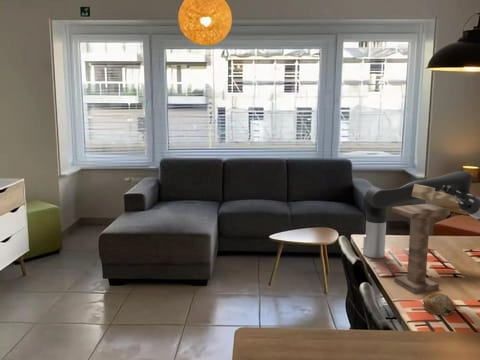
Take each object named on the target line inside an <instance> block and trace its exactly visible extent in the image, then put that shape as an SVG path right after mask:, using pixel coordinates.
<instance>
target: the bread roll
mask: <svg viewBox="0 0 480 360" xmlns="http://www.w3.org/2000/svg"><path fill="white" fill-rule="evenodd" d="M421 302H422V303H423V307H424V309H425V311H426V312H428V313H431V314H434V315H436V314H437V315H436V316H446V317H447V316H449V315H451V314H452V313H454V311H455V304H454V302H453V300H452V299H451V298H450V297H449V296H448V295H447V294H444V293H441V292H431V293H429V294H428V295H426V296H424V298H423V299H422V301H421Z"/></svg>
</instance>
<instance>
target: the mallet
mask: <svg viewBox="0 0 480 360" xmlns="http://www.w3.org/2000/svg"><path fill="white" fill-rule="evenodd" d="M412 196H413V197H416V198H419V199H422V200H424V201H433V198H434V199H438V200H439V199H440V200H445V201H451V202H455V203H457V202H459V201H458V200H456V197H454V196H453V195H451V194H447V193H445V192H440V191H439V192H436V191H435V188H432V187H428V186H423V185H418V184H414V187H413V191H412Z"/></svg>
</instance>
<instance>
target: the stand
mask: <svg viewBox="0 0 480 360" xmlns="http://www.w3.org/2000/svg"><path fill="white" fill-rule="evenodd" d="M391 213H393V214H394V213H395V214H396V215H400V216H402V217H406V218H408V219H409V220H410V223H409V224H410V226H409V243H408V258H407V261H408V262H407V271H406V272H407V273H406V274H407V275H400V276H394V281H393V282H394V283H396V284H397V285H400V287H402V288H404V289H406V290H408V291H409V292H411V293H413V294H415V293H421V292H427V291H435V290H438V289H439V287H440V284H439V283H438V282H437V281H434V280H432V279H430V278H428V277H427V267H428V266H427V265H428V251H429V237H430V235H429V234H430V224H431V223H430V222H431V218H433V217H435V218H437V217H444V216H450V215H451V209H448V208H444V207H441V206H439V205H438V206H437V205H435V204H432V203H421V204H411V205H410V204H409V205H400V206H391Z"/></svg>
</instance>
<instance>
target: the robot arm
mask: <svg viewBox="0 0 480 360" xmlns="http://www.w3.org/2000/svg"><path fill="white" fill-rule="evenodd" d="M472 181H473V175H472V173H470V172H468V171H464V170H461V171H460V170H459V171H458V170H457V171H455V172H449V173H447V174H443V175H440V176H436V177H430V178H425V179H420V180H419V179H418V180H414V181H410V182H408V183H406V184H404V185H402V186H401V187H397V188H396V187H395V188H390V189H383V188H381V187H378V186H372V187H369V188H368V189H367V190H366V193H365V196H364V213H365V217H366V219H365V235H363V243H362V245H363V247H362V255H363V256H365V257H366V258H369V259H370V258H371V259H383V258H384V257H386V256H385V253H386V252H385V251H386V250H385V249H386V237H387V236H386V234H387V215H386V214H385V211H384V209H385V208H386V209H387V208H388V207H393V206H394V205H398V204H402V203H411V202H416V201H422V200H423V199H419V198H416V197H413V196H412V191H413V187H414V184H418V185H423V186H428V187H432V188H435V191H436V192H440V191H442V192H443V193H447V194H451V195H453V196H454V197H456V200H458V201H459V202H456V203H457V205H458V208H459V210H461V211H462V212H464V213H466V214H468V215H469V216H470V217H472V218H474V219H475V220H478V221H479V222H480V196H478V195H477V196H475V195H473V194H472V193H471V191H470V190H471V188H472V187H471V186H472Z"/></svg>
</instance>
